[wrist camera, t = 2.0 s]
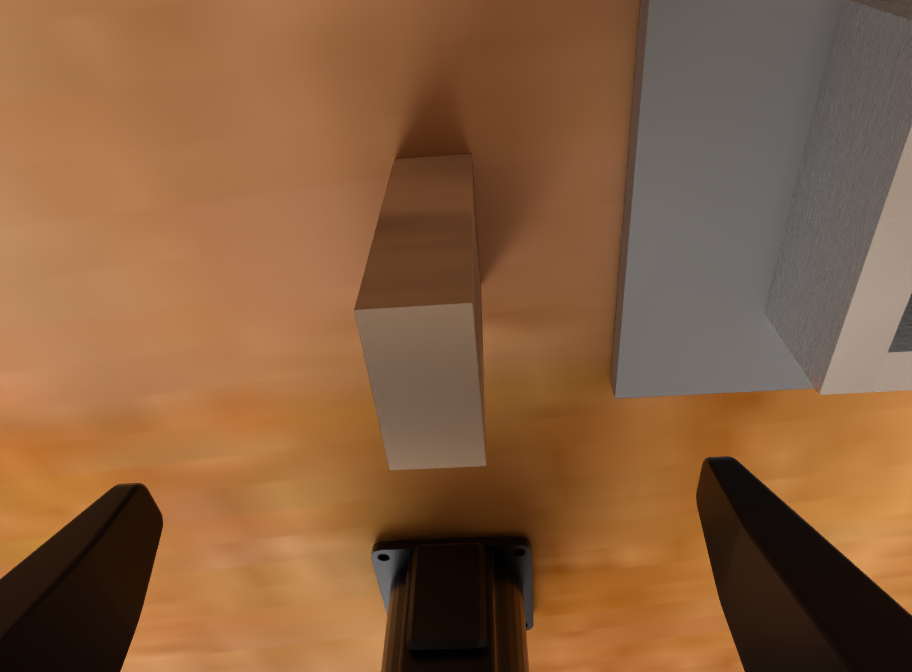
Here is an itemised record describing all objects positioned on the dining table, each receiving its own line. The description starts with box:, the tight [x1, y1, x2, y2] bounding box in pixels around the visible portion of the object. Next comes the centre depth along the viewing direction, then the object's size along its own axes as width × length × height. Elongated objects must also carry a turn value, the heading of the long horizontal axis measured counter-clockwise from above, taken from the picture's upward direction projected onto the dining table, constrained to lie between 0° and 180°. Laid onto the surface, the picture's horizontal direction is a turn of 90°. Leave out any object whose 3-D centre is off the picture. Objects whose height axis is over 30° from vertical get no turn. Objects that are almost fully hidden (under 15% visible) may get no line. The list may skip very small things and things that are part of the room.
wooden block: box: [354, 153, 486, 470], centre depth 14 cm, size 4×2×7 cm, turn 5°
